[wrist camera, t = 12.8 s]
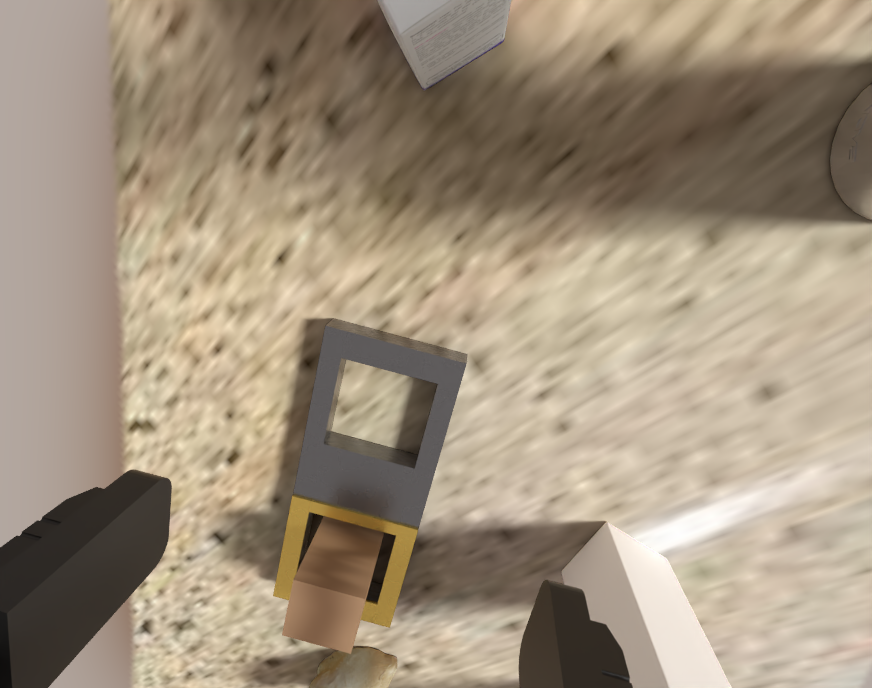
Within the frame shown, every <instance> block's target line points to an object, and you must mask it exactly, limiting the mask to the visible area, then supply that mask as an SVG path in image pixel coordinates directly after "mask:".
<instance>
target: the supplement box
mask: <svg viewBox="0 0 872 688" xmlns="http://www.w3.org/2000/svg"><path fill="white" fill-rule="evenodd" d="M377 1H378V3H379V5H380V8H381V10H382V12H383V14H384V16H385V18H386V20H387V22H388V24H389V26H390V28H391V30H392V32H393V34H394V36H395V38H396V40H397V42H398V44H399V46H400V48H401V50H402V52H403V54H404V56H405V58H406V60H407V62H408V64H409V65H410V67H411V69H412V71H413V73H414V75H415V76H416V78H417V80H418V82H419V84H420V85H421V87H422V89H423V90H424V91H425V90H426V89H428V88H430V87H432V86H433V85H435V84H436V83H438V82H440V81H441V80H443V79H444V78H446V77H447V76H449V75H451V74H452V73H454V72H455V71H457V70H459V69H460V68H462V67H464V66H465V65H467V64H468V63H470V62H472V61H473V60H475V59H477V58H478V57H480V56H482V55H483V54H485V53H486V52H488V51H490V50H491V49H493V48H495V47H496V46H498V45H499V44H501V43H502V42H503V41H504V38H505V32H506V27H507V21H508V16H509V10H510V4H511V0H377Z"/></svg>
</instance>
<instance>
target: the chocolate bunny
mask: <svg viewBox="0 0 872 688" xmlns="http://www.w3.org/2000/svg"><path fill="white" fill-rule="evenodd" d="M396 669H397V657H395V656H393V655H388V654H385V653H383V652H382V651H379V650H376V649H374V648H371V647H365V648H360V647H356V648H354V647H353V648H352V652H351V654H349V653H346V652H342V651H339V650H337V651H335V652H333V653H332V654H331V655H330V656H328V657H326V658H325V659H324V660H323V661H322V662H321V664H320V665H319V666H318V669H317V677H316V678H315V679H314V680H313V681H312V682H311V684H310V686H309V688H388V686H389V684H390V682H391V680H392V678H393V676H394V674H395V672H396Z"/></svg>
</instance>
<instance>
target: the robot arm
mask: <svg viewBox="0 0 872 688" xmlns="http://www.w3.org/2000/svg"><path fill="white" fill-rule="evenodd" d="M830 164H831V176H832V179H833V182H834V185H835V189H836V191H837V192H838V194H839V195H840V197H841V199H842V200H843V202H844V203H845V204H846V205H847V206H848V207H850V208H851V209H852V210H853V211H854V212H855V213H857V214H859V215H861V216H863V217H865V218H867V219H869V220H872V83H871V84H870V85H869V86H868V87H867V88H866V89H864V90H863V91H862V92H861V93H860V94H859V96H858V97H857V98H856V99H855V100H854V102H853V103H852V104H851V105H850V106H849V108H848V110H847V111H846V113H845V115H844V116H843V118H842V120H841V122H840V123H839V126H838V128H837V131H836V134H835V137H834V139H833V143H832V150H831V156H830ZM171 489H172V486H171V482H170V480H169V479H168V478H164V477H161V476H157V475H153V474H149V473H145V472H142V471H138V470H130V471H127V472H126V473H124V474H123V475H122V476H121V477H119V478H118V479H117V480H115V481H114V482H113V483H112V484H110V485H109V486H108V487H106V488H105V489H102V488H98V487H95V488H93V489H90V490H88V491H86V492H83V493H81V494H78V495H76V496H73V497H71V498H69V499H66V500H65V501H64V502H62V503H61V504H60V505H58V506H57V507H55V508H54V509H53V510H51V511H50V512H48V513H47V514H46V515H44V516H43V517H42V520H41V521H36V522H35V523H34V524H32V525H31V526H29V527H28V528H27V529H25V530H24V531H23V532H22V534H21V535H20V536H16V537H14V538H13V539H11V540H10V541H9V542H7V543H6V544H5V545H3V546H2V547H0V688H48V687H49V686H50V685H51V684H52V682H53V681H54V680H55V679H56V678H57V677H58V676H59V675H60V674H61V672H62V671H63V670H64V669H65V668H66V667H67V666H68V665H69V664H70V662H71V661H72V660H73V659H74V658H75V657H76V656H77V655H78V653H79V652H80V651H81V650H82V649H83V648H84V647H85V645H86V644H87V643H88V642H89V641H90V640H91V639H92V638H93V636H95V634H96V633H97V632H98V631H99V630H100V629H101V628H102V627H103V625H104V624H105V623H106V622H107V621H108V620H109V619H110V618H111V617H112V615H113V614H114V613H115V612H116V611H117V610H118V609H119V608H120V606H121V605H122V604H123V603H124V602H125V601H126V600H127V599H128V598H129V596H130V595H131V594H132V593H133V592H134V591H135V590H136V589H137V587H138V586H139V585H140V584H141V583H142V582H143V581H144V580H145V579H146V577H147V576H148V575H149V574H150V573H151V572H152V571H153V569H154V568H155V567H156V566H157V564H158V563H159V561H160V559H161V557H162V556H163V553H164V551H165V549H166V546H167V542H168V537H169V522H170V506H171ZM519 684H520V688H633V686H632V683H630V676H629V672H628V668H627V665H626V661H625V657H624V654H623V650H622V648H621V647H620V645H619V644H618V642H617V641H616V639H615V638H614V636H613V635H612V633H611V631H610V630H609V628H608V627H607V625H606V624H603V623H599V622H596V621H592V620H590V616H589V611H588V607H587V602H586V597H585V594H584V591H583V590H582V589H580V588H576V587H572V586H568V585H564V584H561V583H557V582H553V581H549V580H545V581H544V582H543V583H542V585H541V588H540V591H539V593H538V596H537V599H536V602H535V604H534V607H533V610H532V613H531V615H530V618H529V621H528V624H527V626H526V629H525V632H524V635H523V638H522V643H521V648H520V656H519Z"/></svg>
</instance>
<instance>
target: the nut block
mask: <svg viewBox="0 0 872 688" xmlns="http://www.w3.org/2000/svg"><path fill="white" fill-rule="evenodd" d="M383 536H384V532H381V531H378V530H374V529H370V528H367V527H363V526H359V525H356V524H352V523H348V522H344V521H341V520H337V519H333V518H330V517H326V516H324V517H323V519H322V521H321V523H320V525H319V527H318V529H317V531H316V534H315V536H314V538H313V540H312V542H311V544H310V546H309V548H308V550H307V552H306V554H305V556H304V559H303V561H302V563H301V565H300V567H299V569H298V571H297V573H296V575H295V577H294V579H293V584H292V589H291V594H290V599H289V604H288V608H287V613H286V618H285V623H284V628H283V633H282V635H284V636H287V637H291V638H295V639H298V640H302V641H306V642H309V643H313V644H317V645H320V646H324V647H328V648H331V649H335V650H339V651H342V652H346V653H349V654H351V652H352V648H353V645H354V641H355V637H356V634H357V630H358V627H359V623H360V620H361V616H362V613H363V609H364V605H365V602H366V598H367V595H368V591H369V588H370V584H371V580H372V577H373V573H374V570H375V566H376V562H377V558H378V555H379V551H380V547H381V543H382V539H383Z"/></svg>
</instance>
